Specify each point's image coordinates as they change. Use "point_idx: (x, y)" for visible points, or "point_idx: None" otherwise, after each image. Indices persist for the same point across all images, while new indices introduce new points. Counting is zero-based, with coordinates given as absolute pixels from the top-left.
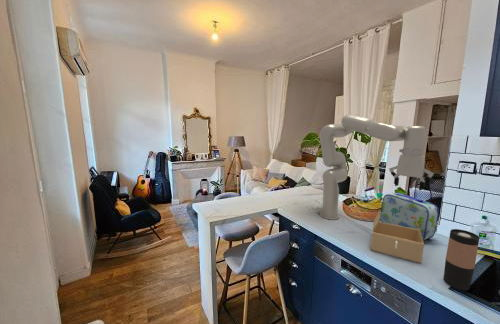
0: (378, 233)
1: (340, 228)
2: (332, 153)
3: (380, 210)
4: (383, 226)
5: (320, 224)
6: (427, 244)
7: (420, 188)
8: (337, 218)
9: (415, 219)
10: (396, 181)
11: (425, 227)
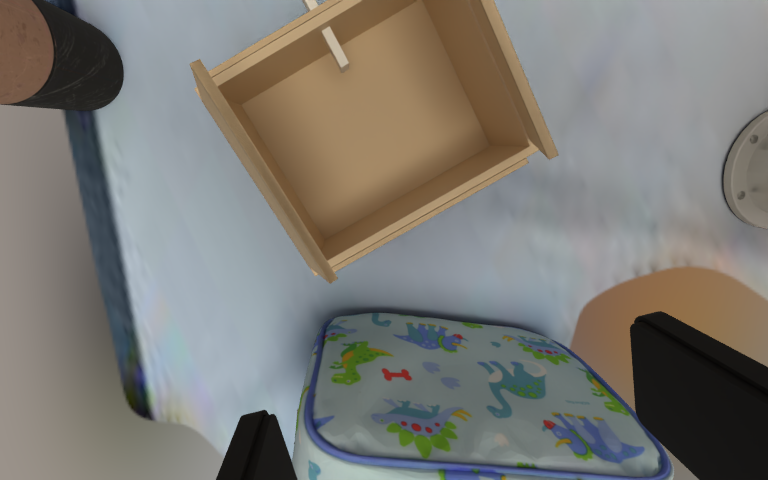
0: None
1: (649, 73)
2: None
3: (542, 132)
4: (474, 172)
5: (754, 3)
6: (312, 318)
7: (241, 434)
8: (728, 168)
9: (285, 196)
10: (726, 363)
11: (320, 352)
